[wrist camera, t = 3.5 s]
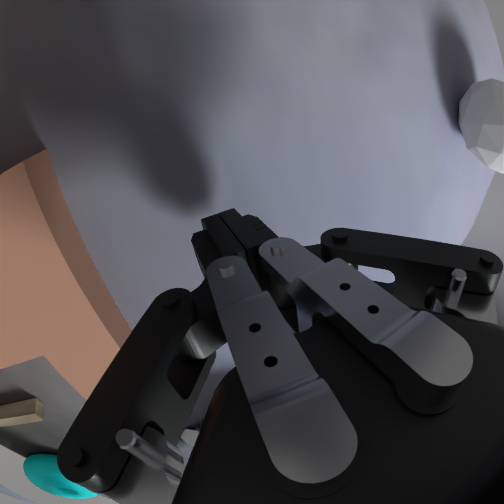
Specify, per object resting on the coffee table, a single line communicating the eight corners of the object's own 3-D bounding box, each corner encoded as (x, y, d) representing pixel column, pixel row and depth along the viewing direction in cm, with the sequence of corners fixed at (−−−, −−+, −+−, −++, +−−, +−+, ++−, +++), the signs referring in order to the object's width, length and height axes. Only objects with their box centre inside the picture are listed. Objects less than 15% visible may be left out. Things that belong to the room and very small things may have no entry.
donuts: (80, 545, 14) (13, 527, 8) (68, 482, 22) (9, 454, 16) (138, 544, 15) (65, 534, 9) (119, 472, 23) (55, 443, 17)
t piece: (-89, 246, 7) (-112, 272, 4) (46, 148, 9) (22, 160, 7) (8, 384, 13) (2, 416, 11) (140, 343, 16) (146, 382, 13)
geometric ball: (451, 112, 20) (515, 151, 17) (440, 160, 18) (515, 208, 15) (471, 50, 13) (545, 98, 10) (471, 86, 11) (562, 150, 8)
